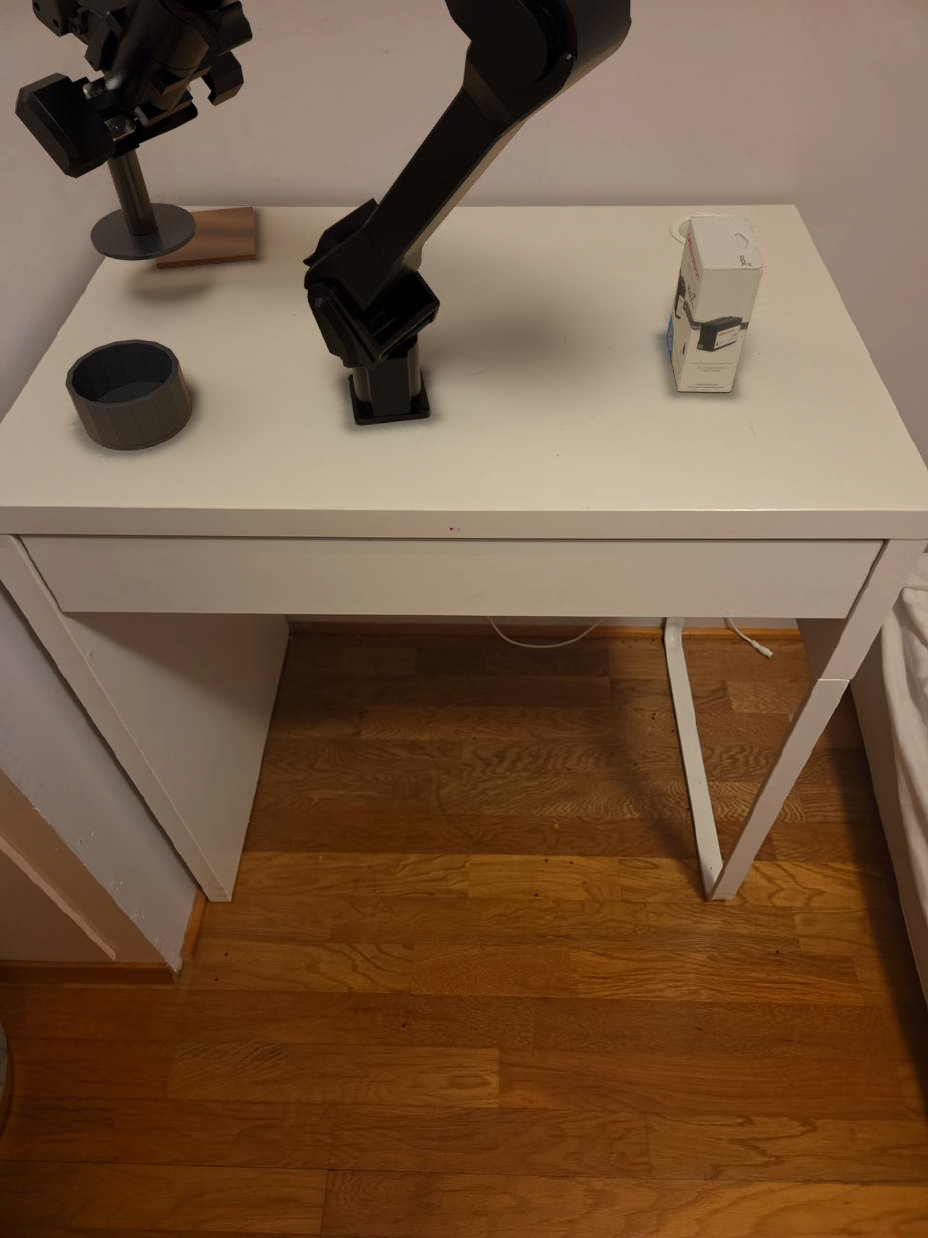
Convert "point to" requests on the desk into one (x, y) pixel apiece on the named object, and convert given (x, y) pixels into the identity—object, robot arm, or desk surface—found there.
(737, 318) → the ink box
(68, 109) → the robot arm
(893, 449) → the desk surface
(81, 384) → the bowl
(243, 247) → the plate
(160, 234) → the lid
